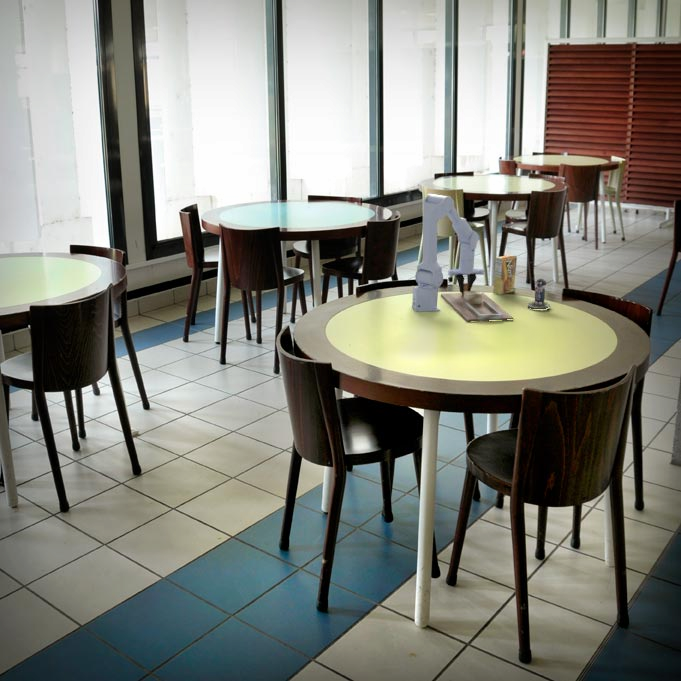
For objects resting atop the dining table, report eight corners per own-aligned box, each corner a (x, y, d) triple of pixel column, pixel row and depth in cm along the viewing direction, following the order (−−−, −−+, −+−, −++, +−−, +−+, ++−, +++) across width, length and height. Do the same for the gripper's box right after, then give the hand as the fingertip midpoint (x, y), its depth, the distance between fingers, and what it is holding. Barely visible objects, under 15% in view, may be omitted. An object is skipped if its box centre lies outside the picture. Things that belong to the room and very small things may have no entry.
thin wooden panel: (467, 322, 313) (467, 315, 312) (440, 296, 347) (441, 290, 346) (513, 320, 316) (513, 314, 315) (482, 294, 349) (483, 289, 349)
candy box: (506, 289, 358) (509, 254, 353) (514, 291, 355) (517, 256, 350) (492, 292, 353) (495, 257, 348) (500, 295, 350) (503, 258, 345)
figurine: (526, 304, 337) (529, 275, 333) (548, 305, 336) (551, 276, 332) (528, 310, 329) (531, 280, 325) (551, 311, 328) (554, 281, 324)
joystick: (467, 304, 332) (467, 292, 330) (456, 294, 345) (457, 282, 343) (481, 303, 332) (482, 291, 331) (471, 294, 346) (471, 282, 344)
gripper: (481, 256, 344) (479, 289, 349) (446, 257, 342) (445, 290, 347) (486, 260, 338) (484, 293, 342) (451, 261, 336) (449, 294, 340)
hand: (464, 292), depth 344 cm, fingers closed on joystick, 2 cm apart
